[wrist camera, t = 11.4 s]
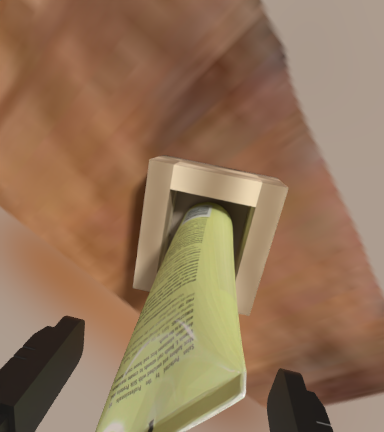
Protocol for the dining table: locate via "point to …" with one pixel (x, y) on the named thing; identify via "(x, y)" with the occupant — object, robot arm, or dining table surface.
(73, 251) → the dining table surface
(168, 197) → the socket block
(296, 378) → the robot arm
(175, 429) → the tube
